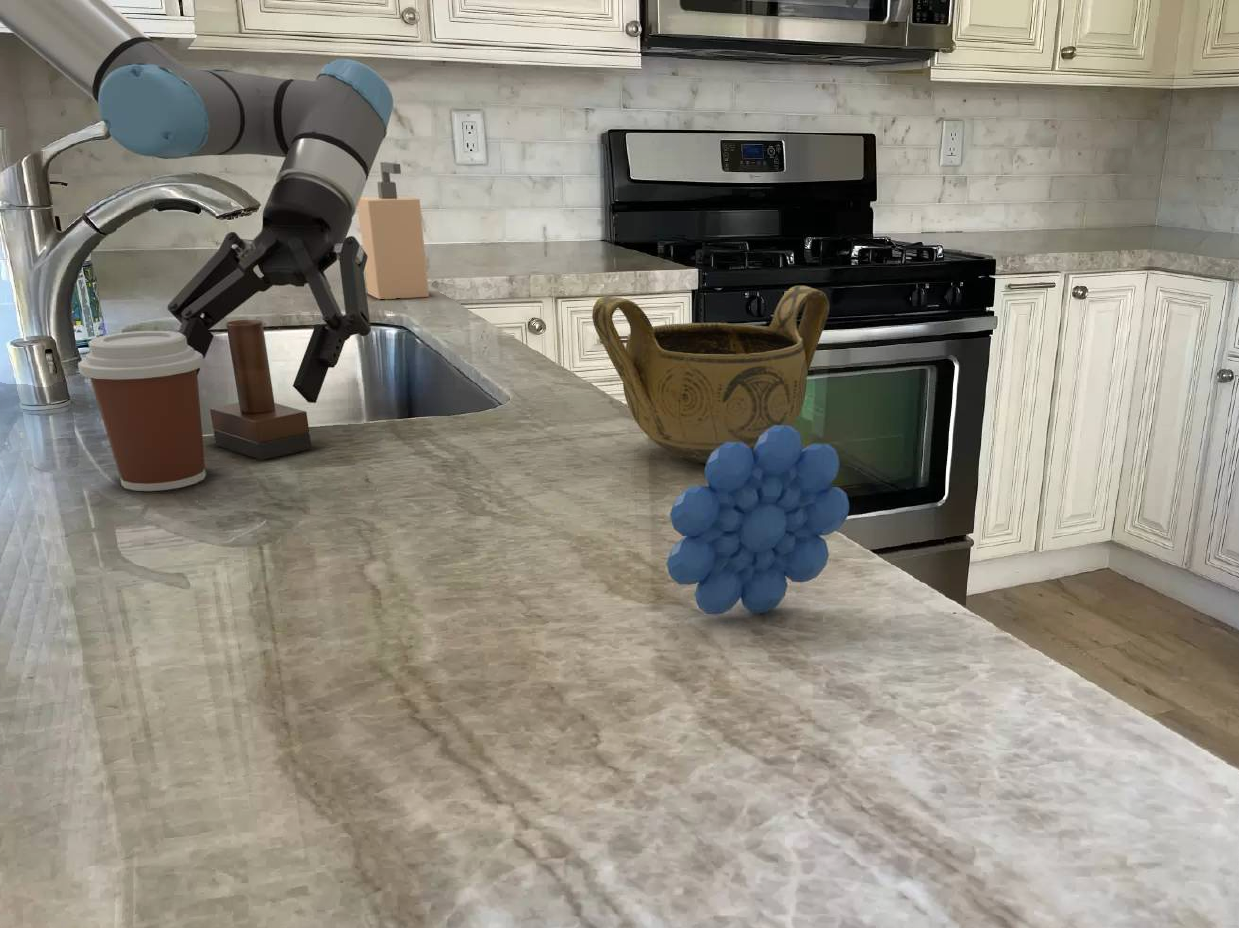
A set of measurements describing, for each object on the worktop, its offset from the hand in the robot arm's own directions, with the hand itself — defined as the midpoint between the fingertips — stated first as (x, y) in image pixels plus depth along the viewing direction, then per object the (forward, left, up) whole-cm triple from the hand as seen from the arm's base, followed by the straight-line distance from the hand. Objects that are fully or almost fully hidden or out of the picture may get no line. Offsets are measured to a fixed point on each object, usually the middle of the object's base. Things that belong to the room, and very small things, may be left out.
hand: (239, 390), depth 101 cm
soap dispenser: (-69, +74, -6) cm, 101 cm away
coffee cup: (+1, -9, -6) cm, 11 cm away
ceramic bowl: (+34, +25, -6) cm, 43 cm away
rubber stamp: (-1, +2, -6) cm, 7 cm away
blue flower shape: (+57, -2, -6) cm, 57 cm away
